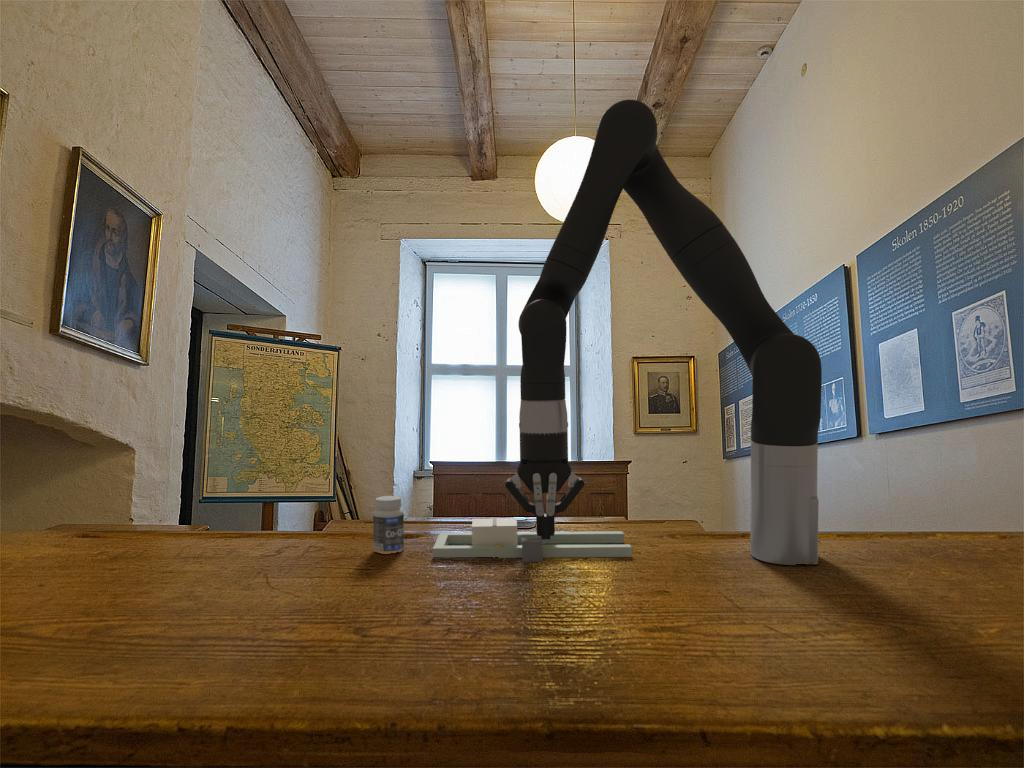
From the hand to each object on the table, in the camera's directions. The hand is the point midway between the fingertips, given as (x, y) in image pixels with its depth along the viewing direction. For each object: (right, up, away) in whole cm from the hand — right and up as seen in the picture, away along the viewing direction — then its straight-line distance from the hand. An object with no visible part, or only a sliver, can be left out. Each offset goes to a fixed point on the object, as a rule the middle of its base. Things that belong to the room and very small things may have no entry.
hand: (545, 538), depth 107 cm
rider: (-8, -2, 0) cm, 8 cm away
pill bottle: (-25, -2, 0) cm, 25 cm away
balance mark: (-7, 0, 0) cm, 7 cm away
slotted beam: (-2, -2, 0) cm, 3 cm away
